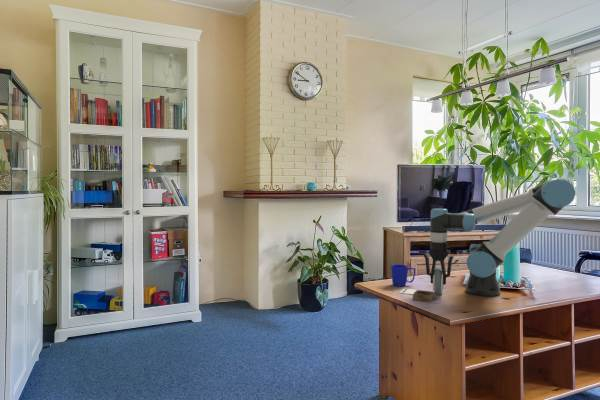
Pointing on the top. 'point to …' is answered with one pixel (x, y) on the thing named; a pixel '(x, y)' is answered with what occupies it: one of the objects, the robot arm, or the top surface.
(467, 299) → the top surface
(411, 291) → the paper
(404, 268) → the mug
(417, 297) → the tray
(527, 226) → the robot arm
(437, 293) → the marker
